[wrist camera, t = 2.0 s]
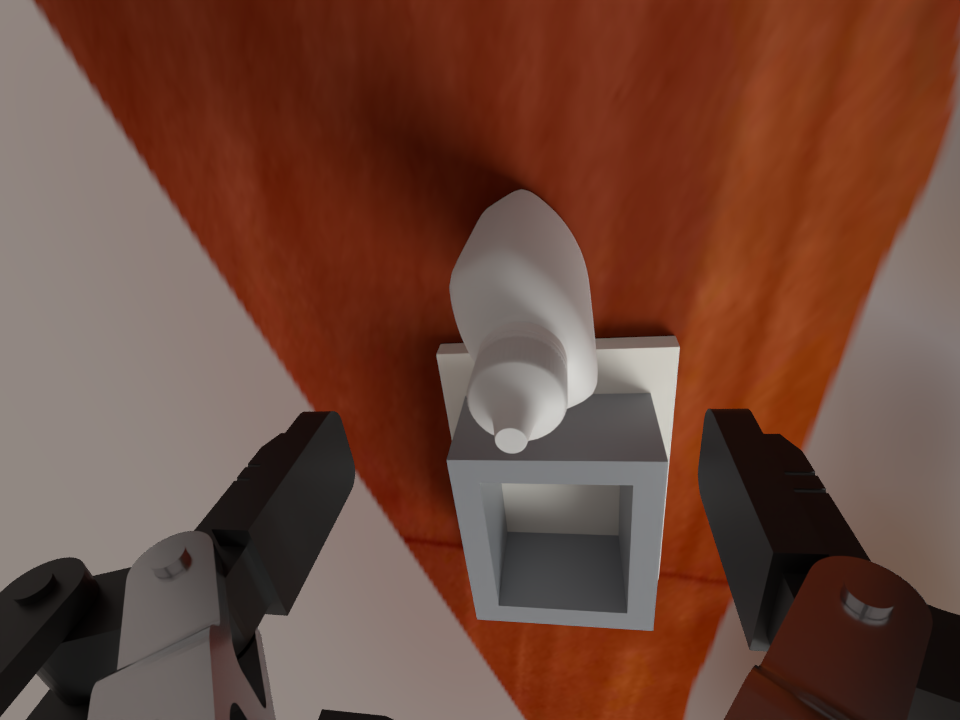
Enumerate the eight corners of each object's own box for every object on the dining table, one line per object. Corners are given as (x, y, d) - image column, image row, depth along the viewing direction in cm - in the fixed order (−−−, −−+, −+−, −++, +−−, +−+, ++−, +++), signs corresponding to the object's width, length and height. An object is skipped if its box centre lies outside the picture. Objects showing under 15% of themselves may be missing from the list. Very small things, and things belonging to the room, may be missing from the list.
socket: (440, 343, 24) (410, 413, 19) (675, 335, 22) (705, 410, 17) (477, 556, 31) (462, 644, 27) (655, 564, 29) (673, 660, 25)
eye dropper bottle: (489, 316, 23) (428, 526, 13) (479, 188, 20) (391, 324, 10) (588, 316, 22) (609, 537, 12) (592, 182, 19) (624, 322, 9)
